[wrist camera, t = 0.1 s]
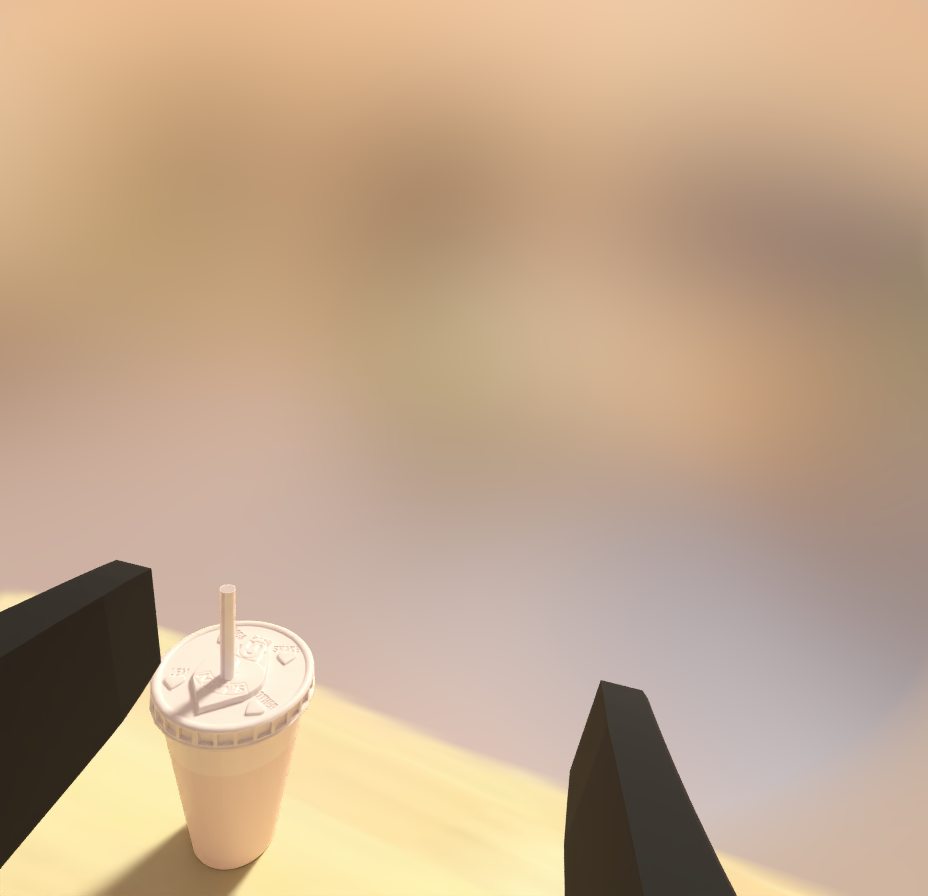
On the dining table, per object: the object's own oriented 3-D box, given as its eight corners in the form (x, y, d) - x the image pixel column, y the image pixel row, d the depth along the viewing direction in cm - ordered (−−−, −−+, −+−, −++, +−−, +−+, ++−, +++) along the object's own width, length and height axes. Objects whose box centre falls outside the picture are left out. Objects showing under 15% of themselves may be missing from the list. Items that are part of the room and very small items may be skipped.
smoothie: (124, 871, 26) (99, 605, 21) (216, 753, 32) (214, 522, 27) (258, 925, 25) (265, 659, 20) (328, 793, 31) (348, 560, 26)
